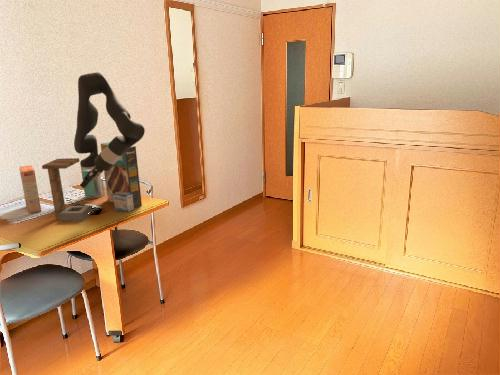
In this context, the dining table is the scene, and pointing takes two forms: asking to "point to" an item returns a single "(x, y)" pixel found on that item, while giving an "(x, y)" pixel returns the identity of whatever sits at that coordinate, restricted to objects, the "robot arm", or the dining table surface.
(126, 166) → the cake mix box
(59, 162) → the wooden pedestal stand
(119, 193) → the medicine box
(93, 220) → the dining table surface
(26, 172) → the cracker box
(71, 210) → the socket block
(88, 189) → the peg
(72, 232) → the dining table surface
